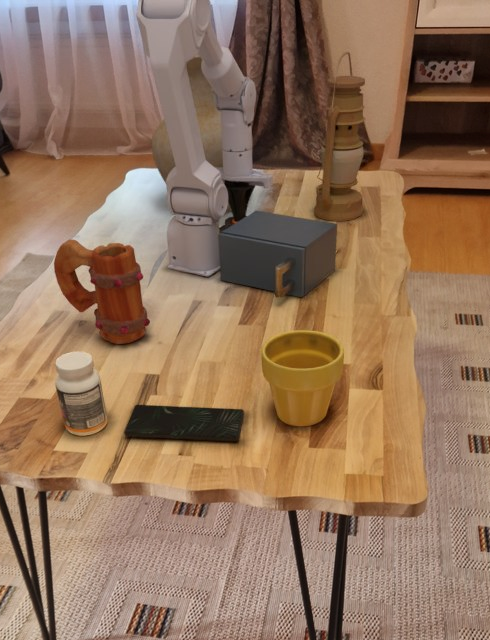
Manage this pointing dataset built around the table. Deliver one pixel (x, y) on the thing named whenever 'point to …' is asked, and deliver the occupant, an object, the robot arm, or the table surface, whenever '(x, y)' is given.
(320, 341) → the flower pot
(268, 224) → the grey cabinet
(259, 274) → the grey piece
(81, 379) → the pill bottle
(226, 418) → the smartphone
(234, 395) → the table surface
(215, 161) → the vase
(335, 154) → the lantern
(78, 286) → the mug
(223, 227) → the control block
